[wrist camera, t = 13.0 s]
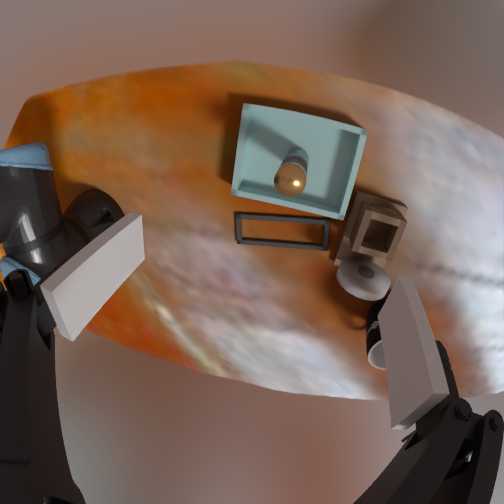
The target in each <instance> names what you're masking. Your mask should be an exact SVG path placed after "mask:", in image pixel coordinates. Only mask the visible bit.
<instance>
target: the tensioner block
mask: <svg viewBox="0 0 504 504" xmlns="http://www.w3.org/2000/svg"><path fill="white" fill-rule="evenodd" d="M407 209H408V208H407V207H406V206H405V205H402V204H399V203H396V202H393V201H390V200H387V199H383V198H380V197H377V196H374V195H370V194H367V193H364V192H360V191H357V190H356V194H355V197H354V201H353V204H352V207H351V210H350V214H349V217H348V220H347V223H346V226H345V229H344V232H343V235H342V238H341V241H340V244H339V247H338V250H337V253H336V256H335V259H334V265H337V266H339V268H338V270H337V273H336V277H337V280H338V282H339V284H340V285H341V286H342V287H343V288H344V289H345V290H346V291H347V292H349V293H350V294H352V295H354V296H356V297H358V298H361V299H364V300H371V301H374V300H379V299H382V298H383V297H384V296H385V294H386V292H387V290H388V289H389V287H390V284H391V281H390V278H389V276H388V274H387V273H386V272H385V271H384V270H383V268H384V265H385V263H386V261H387V260H389V261H391V260H392V258H393V255H394V253H395V251H396V248H397V246H398V244H399V241H400V239H401V236H402V234H403V232H404V229H405V227H406V224H407V221H406V219H405V218H404V217H405V214H406V211H407Z"/></svg>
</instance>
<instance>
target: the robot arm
mask: <svg viewBox="0 0 504 504" xmlns="http://www.w3.org/2000/svg"><path fill="white" fill-rule="evenodd" d="M53 170H54V168H53V167H52V164H51V159H50V155H49V150H48V147H47V146H46V145H45V144H44V143H41V142H37V143H31V144H25V145H20V146H16V147H12V148H8V149H4V150H0V244H1V243H2V245H3V248H4V251H5V254H6V256H3V257H2V259H1V261H0V268H1V269H0V270H1V273H2V275H3V277H4V280H3V282H4V284H5V286H6V289H7V291H6V290H5V288H4V286H3V284H2V282H1V281H0V504H44V503H45V504H86V503H85V500H84V498H83V495H82V493H81V491H80V489H79V488H78V487H77V485H76V484H75V483H74V481H73V479H72V476H71V472H70V469H69V464H68V461H67V456H66V452H65V447H64V441H63V436H62V430H61V424H60V417H59V409H58V401H57V390H56V376H55V335H54V331H53V329H54V328H55V327H56V326H57V327H58V329H59V332H60V333H61V335H62V336H64V337H66V338H67V339H69V340H71V341H74V340H75V338H76V337H77V336H78V335H79V333H80V332H81V331H82V330H83V329H84V327H85V326H86V325H87V324H88V322H89V321H90V320H91V319H92V318H93V317H94V315H95V314H96V313H97V312H98V311H99V309H100V308H101V307H102V306H103V305H104V304H105V302H106V301H107V300H108V299H109V298H110V297H111V296H112V294H113V293H114V292H115V291H116V290H117V289H118V288H119V287H120V285H121V284H122V283H123V282H124V281H125V280H126V279H127V278H128V277H129V276H130V274H131V273H132V272H133V271H134V270H135V269H136V268H137V267H138V266H139V265H140V264H141V263H142V262H143V261H144V259H145V256H144V244H143V230H142V215H140V214H136V213H131V212H130V213H128V214H127V215H125V216H124V214H123V212H122V210H121V209H120V207H119V206H118V204H117V203H116V202H115V201H114V200H113V199H112V198H111V197H110V196H108V195H107V194H105V193H104V192H101V191H98V190H88V191H86V192H84V193H82V194H80V195H79V196H77V197H76V198H75V199H74V200H73V202H72V203H71V205H70V206H69V207H68V208H67V209H66V211H65V212H64V213H63V215H62V213H61V209H60V204H59V200H58V196H57V191H56V186H55V180H54V174H53ZM378 321H379V327H380V333H381V339H382V345H383V352H384V358H385V366H386V374H387V382H388V392H389V403H390V415H391V429H407V428H409V427H410V426H412V425H413V424H414V423H416V430H415V431H413V432H412V433H411V434H409V435H408V436H406V437H405V438H404V439H403V440H402V442H404V441H405V440H407V441H406V442H405V444H404V445H403V446H402V448H401V449H400V450H399V452H398V453H397V454H396V456H395V457H394V458H393V460H392V461H391V462H390V464H389V465H388V466H387V467H386V468H385V470H384V471H383V472H382V473H381V475H380V476H379V477H378V478H377V479H376V480H375V481H374V482H373V483H372V485H371V486H370V487H369V488H368V489H367V490H366V491H365V492H364V493H363V494H362V495H361V496H360V497H359V499H357V500H356V501H355V502H354V503H353V504H489V503H490V500H491V497H492V493H493V489H494V485H495V481H496V476H497V472H498V467H499V461H500V456H501V448H502V441H503V432H504V422H503V418H502V416H501V415H500V413H499V412H497V411H496V410H490V411H489V412H487V413H486V414H485V415H484V416H481V415H478V414H476V413H473V412H472V408H471V406H470V404H469V403H468V402H467V401H466V400H464V399H463V398H459V394H458V390H457V386H456V382H455V379H454V375H453V371H452V370H451V365H450V362H449V358H448V355H447V352H446V349H445V348H444V346H443V345H442V343H441V342H440V341H437V340H435V339H434V336H433V333H432V330H431V327H430V324H429V321H428V318H427V315H426V313H425V310H424V307H423V305H422V302H421V299H420V297H419V294H418V292H417V289H416V287H415V285H414V282H413V280H412V278H409V277H405V276H401V275H399V276H398V278H397V280H396V282H395V284H394V286H393V288H392V290H391V292H390V294H389V296H388V298H387V300H386V302H385V303H384V305H383V307H382V309H381V311H380V312H379V314H378ZM470 455H472V456H471V460H470V461H469V462H468V458H469V456H470Z"/></svg>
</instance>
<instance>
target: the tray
mask: <svg viewBox="0 0 504 504" xmlns="http://www.w3.org/2000/svg"><path fill="white" fill-rule="evenodd" d="M367 132H368V130H366V129H364V128H361V127H357V126H354V125H350V124H347V123H343V122H339V121H336V120H332V119H328V118H324V117H319V116H315V115H311V114H306V113H302V112H297V111H292V110H287V109H281V108H275V107H269V106H263V105H257V104H249V103H243V109H242V115H241V122H240V129H239V136H238V144H237V151H236V159H235V166H234V174H233V182H232V190H231V195H235V196H240V197H245V198H249V199H254V200H259V201H263V202H268V203H272V204H277V205H281V206H286V207H290V208H294V209H298V210H302V211H307V212H311V213H315V214H319V215H323V216H327V217H331V218H334V219H338V220H342V221H343V220H344V217H345V213H346V210H347V207H348V204H349V200H350V197H351V193H352V190H353V186H354V183H355V179H356V176H357V172H358V168H359V164H360V161H361V157H362V153H363V149H364V145H365V141H366V137H367ZM295 147H299V148H302V149H304V150H305V151H306V152H307V154H308V157H309V161H308V170H307V180H306V186H305V189H304V190H303V192H302V193H301V194H299V195H297V196H295V197H287V196H284V195H282V194H280V193H279V192H278V191H277V189H276V188H275V185H274V177H275V174H276V173H277V171H278V169H279V167H280V165H281V164H282V162H283V160H284V158H285V157H286V155H287V153H288V151H289V150H291V149H292V148H295Z"/></svg>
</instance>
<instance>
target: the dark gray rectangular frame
mask: <svg viewBox="0 0 504 504" xmlns="http://www.w3.org/2000/svg"><path fill="white" fill-rule="evenodd" d="M241 219H251V220H267V221H281V222H295V223H308V224H320V225H325V227H324V237H323V245H317V244H305V243H293V242H280V241H268V240H255V239H242V224H241ZM329 227H330V220H329V219H317V218H305V217H292V216H277V215H261V214H244V213H236V230H237V244H249V245H261V246H273V247H285V248H297V249H309V250H321V251H327V245H328V236H329Z"/></svg>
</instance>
